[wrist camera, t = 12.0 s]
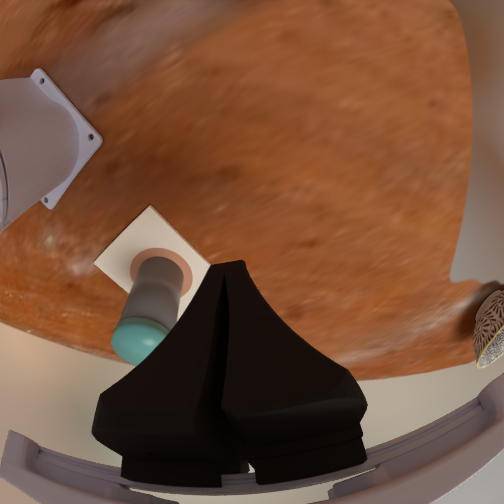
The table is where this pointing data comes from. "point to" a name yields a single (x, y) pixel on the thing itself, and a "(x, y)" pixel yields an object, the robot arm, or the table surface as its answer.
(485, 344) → the bowl
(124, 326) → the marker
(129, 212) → the table surface
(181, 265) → the paper
